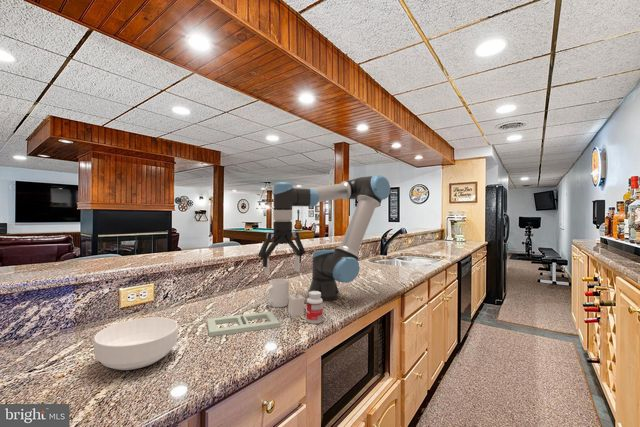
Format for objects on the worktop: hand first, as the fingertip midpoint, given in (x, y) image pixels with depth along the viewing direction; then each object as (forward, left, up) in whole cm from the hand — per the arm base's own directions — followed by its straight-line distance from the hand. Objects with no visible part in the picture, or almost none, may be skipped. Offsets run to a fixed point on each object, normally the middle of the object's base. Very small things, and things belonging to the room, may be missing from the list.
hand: (282, 273), depth 120 cm
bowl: (+47, +21, -17) cm, 55 cm away
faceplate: (+16, +6, -17) cm, 24 cm away
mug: (-1, -12, -17) cm, 21 cm away
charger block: (-6, +1, -17) cm, 18 cm away
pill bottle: (-10, +11, -17) cm, 23 cm away
